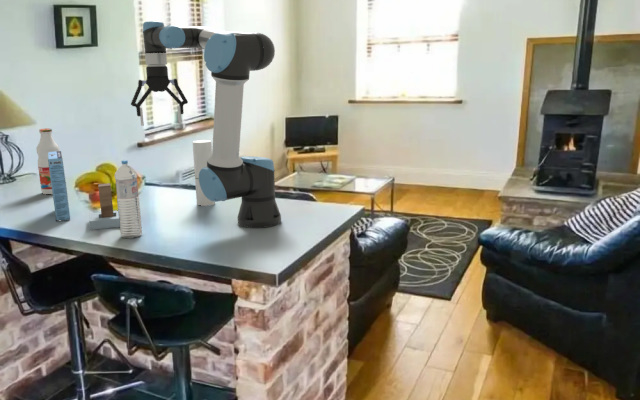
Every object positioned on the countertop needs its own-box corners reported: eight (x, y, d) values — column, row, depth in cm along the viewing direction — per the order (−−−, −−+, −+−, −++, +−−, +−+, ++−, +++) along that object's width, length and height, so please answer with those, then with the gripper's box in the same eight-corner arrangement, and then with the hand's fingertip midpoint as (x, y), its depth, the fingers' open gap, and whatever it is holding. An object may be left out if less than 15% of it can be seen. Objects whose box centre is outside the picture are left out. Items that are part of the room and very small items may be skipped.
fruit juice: (69, 191, 266) (61, 128, 259) (48, 195, 259) (40, 130, 252) (58, 189, 272) (50, 127, 265) (37, 193, 264) (29, 129, 258)
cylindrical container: (213, 206, 236) (209, 142, 230) (195, 206, 236) (190, 142, 230) (216, 201, 243) (212, 139, 237) (199, 201, 243) (194, 140, 237)
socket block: (126, 225, 210) (125, 217, 209) (90, 229, 206) (89, 221, 205) (125, 217, 221) (124, 209, 220) (90, 221, 217) (89, 213, 216)
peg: (114, 224, 212) (110, 185, 209) (102, 225, 211) (98, 186, 208) (114, 221, 216) (110, 183, 213) (102, 222, 215) (98, 184, 212)
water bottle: (130, 239, 194) (123, 163, 188) (116, 236, 197) (108, 161, 192) (146, 234, 200) (140, 159, 194) (132, 231, 203) (125, 158, 197)
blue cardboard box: (70, 220, 219) (63, 158, 214) (55, 222, 217) (47, 159, 212) (69, 208, 236) (62, 150, 231) (55, 210, 234) (47, 151, 229)
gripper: (189, 64, 227) (193, 121, 232) (120, 66, 218) (125, 125, 223) (192, 65, 220) (196, 123, 225) (121, 66, 212) (126, 127, 217)
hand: (161, 124), depth 224 cm, fingers open, 13 cm apart
